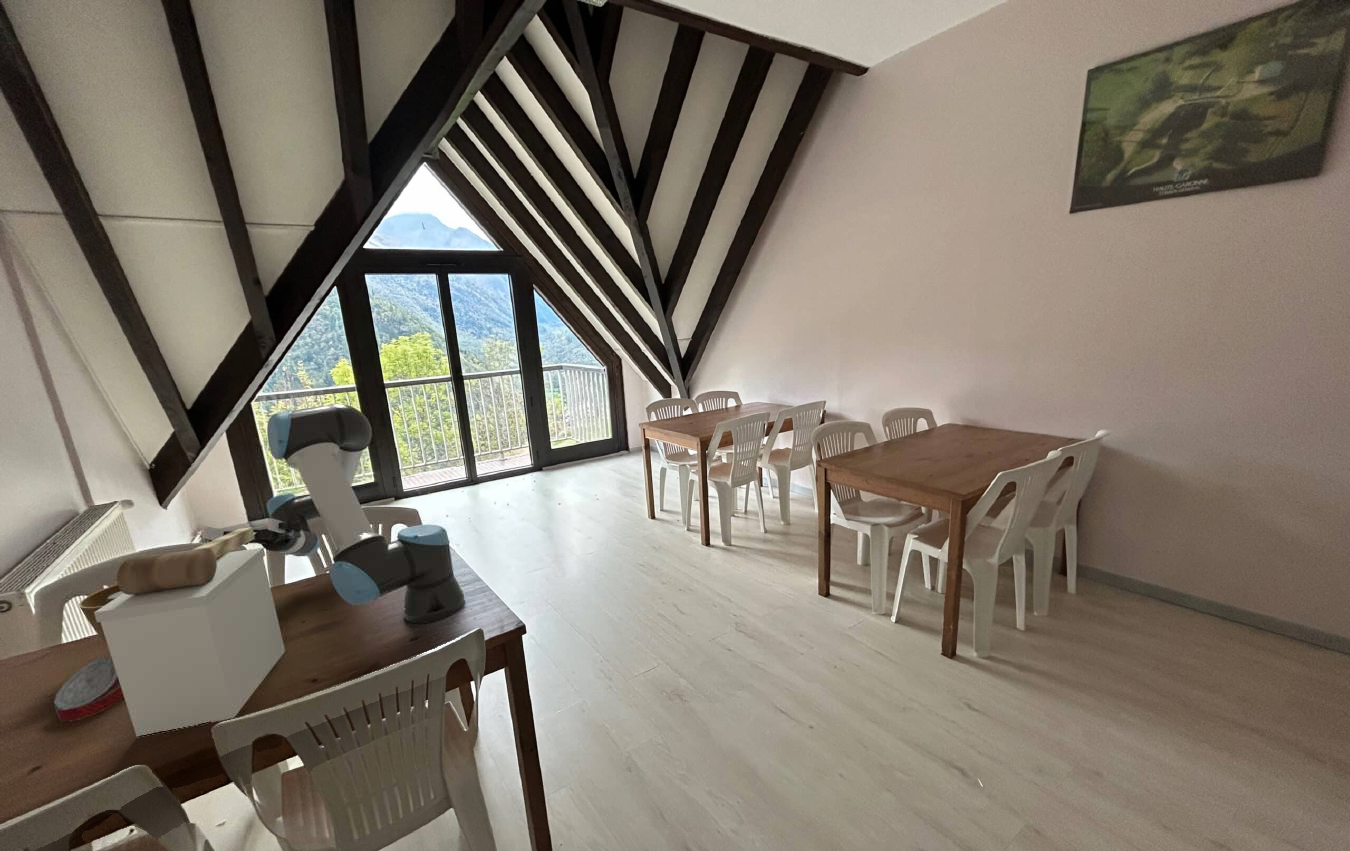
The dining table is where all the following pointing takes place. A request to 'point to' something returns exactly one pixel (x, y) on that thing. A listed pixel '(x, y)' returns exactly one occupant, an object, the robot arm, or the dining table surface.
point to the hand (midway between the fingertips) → (237, 527)
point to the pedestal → (194, 645)
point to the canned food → (89, 690)
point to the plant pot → (97, 607)
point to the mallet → (178, 565)
